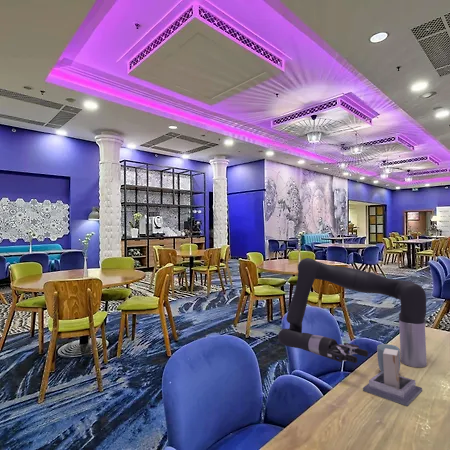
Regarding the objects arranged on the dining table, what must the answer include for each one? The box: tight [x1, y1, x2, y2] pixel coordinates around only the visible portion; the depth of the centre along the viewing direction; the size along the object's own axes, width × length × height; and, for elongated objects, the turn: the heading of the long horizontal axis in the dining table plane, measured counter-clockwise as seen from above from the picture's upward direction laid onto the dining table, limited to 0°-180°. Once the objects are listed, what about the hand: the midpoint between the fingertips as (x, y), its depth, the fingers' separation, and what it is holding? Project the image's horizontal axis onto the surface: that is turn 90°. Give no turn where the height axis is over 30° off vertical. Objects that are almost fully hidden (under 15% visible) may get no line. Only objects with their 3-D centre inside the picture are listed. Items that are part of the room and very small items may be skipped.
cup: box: [376, 343, 401, 372], centre depth 123 cm, size 8×8×10 cm
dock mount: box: [362, 371, 423, 407], centre depth 110 cm, size 14×14×4 cm
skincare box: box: [383, 348, 400, 389], centre depth 110 cm, size 6×4×12 cm
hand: (362, 357), depth 117 cm, fingers open, 8 cm apart
